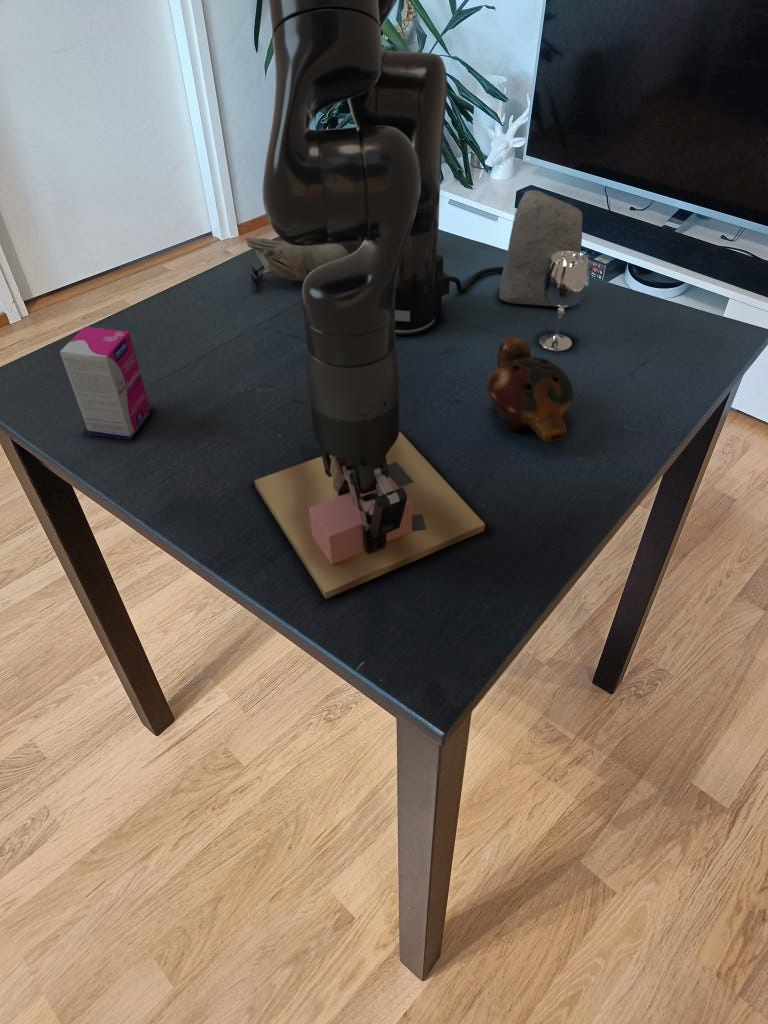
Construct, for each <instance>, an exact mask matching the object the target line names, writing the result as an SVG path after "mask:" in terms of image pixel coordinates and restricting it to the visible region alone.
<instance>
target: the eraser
mask: <svg viewBox="0 0 768 1024" xmlns="http://www.w3.org/2000/svg"><path fill="white" fill-rule="evenodd" d="M388 481H389V483H390V484H391V486H392V487H393V489H394V490H396V489H399V487H398V486H397V485H396V484H395V483H394V481H393V480H392V479H391V478H390V477H388ZM376 490H377V489H376ZM376 490H374V491H371V492H369V493H366V494H362V493H360V494H361V497H362V496H365V495H367V494H370V493H372V492H375V491H376ZM373 511H374V506H372V507H370V508H369V514H370V515H372V514H373ZM309 514H310V521H311V529H312V536H313V538H314V539H315V541H316V542H317V544H318V545H319V547H320V548H321V550H322V551H323V553H324V554H325V555H326V557H327V558H328V560H329V561H330V563H331V564H332V565H333V564H336V563H338V562H340V561H343V560H345V559H348V558H350V557H352V556H355V555H357V554H359V553H362V552H364V551H365V549H364V547H363V530H362V521H361V516H360V511H359V509H358V508H356V507H355V506H354V505H353V503H352V499H351V494H350V492H349V493H346V494H344V495H341V496H338V497H336V498H333V499H331V500H328V501H325V502H323V503H320V504H318V505H315V506H313V507H310V508H309ZM411 531H412V502H411V501H410V500H409V499H408V498H407V501H406V505H405V509H404V513H403V517H402V520H401V524H400V528H398V529H396V530H393V531H391V532H388V533H386V542H388V541H390V540H392V539H395V538H397V537H400V536H402V535H404V534H407V533H409V532H411Z"/></svg>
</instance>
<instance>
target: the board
mask: <svg viewBox="0 0 768 1024" xmlns="http://www.w3.org/2000/svg"><path fill="white" fill-rule="evenodd" d="M386 458H387V463H388V468H389V477H390V478H391V479H392V480H393V481H394V483H395V484H396V485H397V486H398V487H399V488H401V487H402V488H403V489H404V490H405V492H406V494H407V498H408V499H409V500H410V501H411V502H412V531H411V532H409V533H407V534H404V535H402V536H400V537H397V538H395V539H392V540H390V541H388V542H386V547H385V548H383V549H380V550H378V551H376V552H373V553H371V554H368V553H367V552H366V551H364V552H362V553H359V554H357V555H355V556H352V557H350V558H348V559H345V560H343V561H340V562H338V563H336V564H333V565H332V564H331V563H330V561H329V560H328V558H327V557H326V555H325V554H324V553H323V551H322V550H321V548H320V547H319V545H318V544H317V542H316V541H315V539H314V538H313V536H312V529H311V521H310V514H309V508H310V507H313V506H315V505H318V504H320V503H323V502H325V501H328V500H331V499H333V498H336V497H338V492H336V490H335V489H334V487H333V476H331V477H328V476H327V474H326V473H325V468H324V464H323V459H322V455H320V456H319V457H315V458H313V459H310V460H307V461H304V462H302V463H298V464H296V465H293V466H291V467H288V468H285V469H282V470H279V471H277V472H274V473H271V474H268V475H265V476H263V477H259V478H257V479H254V480H253V481H254V487H255V489H256V490H257V492H258V493H259V495H260V496H261V498H262V500H263V501H264V503H265V504H266V506H267V508H268V509H269V511H270V512H271V514H272V516H273V517H274V519H275V521H276V522H277V524H278V525H279V527H280V529H281V530H282V531H283V533H284V534H285V536H286V538H287V539H288V541H289V543H290V544H291V546H292V548H293V549H294V551H295V552H296V555H297V556H298V557H299V559H300V561H301V562H302V564H303V565H304V566H305V568H306V570H307V571H308V573H309V575H310V577H311V578H312V579H313V581H314V583H315V584H316V586H317V588H318V589H319V591H320V592H321V594H322V596H323V597H324V599H326V600H327V599H330V598H332V597H334V596H336V595H340V594H341V593H343V592H345V591H348V590H350V589H352V588H355V587H357V586H360V585H362V584H364V583H366V582H369V581H371V580H374V579H376V578H379V577H380V576H382V575H386V574H388V573H390V572H392V571H394V570H397V569H399V568H401V567H403V566H406V565H408V564H411V563H413V562H416V561H417V560H419V559H422V558H424V557H427V556H429V555H432V554H434V553H436V552H438V551H441V550H443V549H445V548H447V547H450V546H452V545H454V544H457V543H459V542H461V541H464V540H467V539H468V538H472V537H473V536H476V535H478V534H480V533H482V532H484V531H485V529H486V523H484V521H483V520H482V519H481V518H480V517H479V516H478V515H477V514H476V513H475V511H474V510H473V509H472V508H471V507H470V506H469V505H468V504H467V503H466V502H465V501H464V500H463V498H462V497H461V496H460V495H459V494H458V493H457V492H456V491H455V490H454V489H453V487H452V486H451V485H450V484H449V483H448V482H447V481H446V480H445V479H444V478H443V477H442V476H441V474H440V473H439V472H438V471H437V470H436V469H435V468H434V467H433V466H432V464H431V463H430V462H429V461H427V459H426V458H425V457H424V456H423V455H422V454H421V453H420V452H419V451H418V449H417V448H416V447H415V446H414V445H413V444H412V443H411V442H410V441H409V440H408V439H407V437H406V436H405V435H404V434H403V433H402V432H401V430H399V435H398V438H397V440H396V442H395V443H394V444H393V446H392V447H391V448H390V450H389V451H388V453H387V455H386Z"/></svg>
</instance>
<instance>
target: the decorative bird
mask: <svg viewBox="0 0 768 1024" xmlns="http://www.w3.org/2000/svg"><path fill="white" fill-rule="evenodd" d="M244 240H245V241H246V244H247V248H250V249H254V250H255V253H256V256H257V257H258V259H259V261H260V262H261V264H262V266H261V267H260V268H259V269H255V268H254V266H253V265H252V264H251V263H249V264H248V265H249V266H251V269H252V273H253V274H252V273H251V272H248V274H249V275H250V277H251V282H252V283H253V284H254V285H255V287H256V290H259V284H258V283H259V280H261V279H262V278H263V277H264V276H265V275H268V274H270V275H271V276H273V277H275V278H276V279H277V278H278V279H283V280H286V281H287V280H288V281H294V282H295V281H296V282H302V283H304V280H305V278H306V277H307V275H308V274H309V273H310V272H312V271H313V270H314V269H316V268H318V267H320V266H322V265H324V264H327V263H329V262H332V261H335V260H338V259H341V258H344V257H346V256H348V255H350V254H349V252H348V251H347V250H346V249H345V248H344V247H343V245H340V244H339V243H336V244H324V245H312V246H296V245H292V244H289V243H287V242H286V241H284V240H274V239H270V238H269V239H268V238H262V237H260V238H256V237H252V238H251V237H245V239H244ZM264 269H265V270H264ZM262 270H264V271H262ZM261 271H262V273H261V275H259V272H261ZM253 275H254V276H255V277H256V278H255V277H254V276H253Z"/></svg>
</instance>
